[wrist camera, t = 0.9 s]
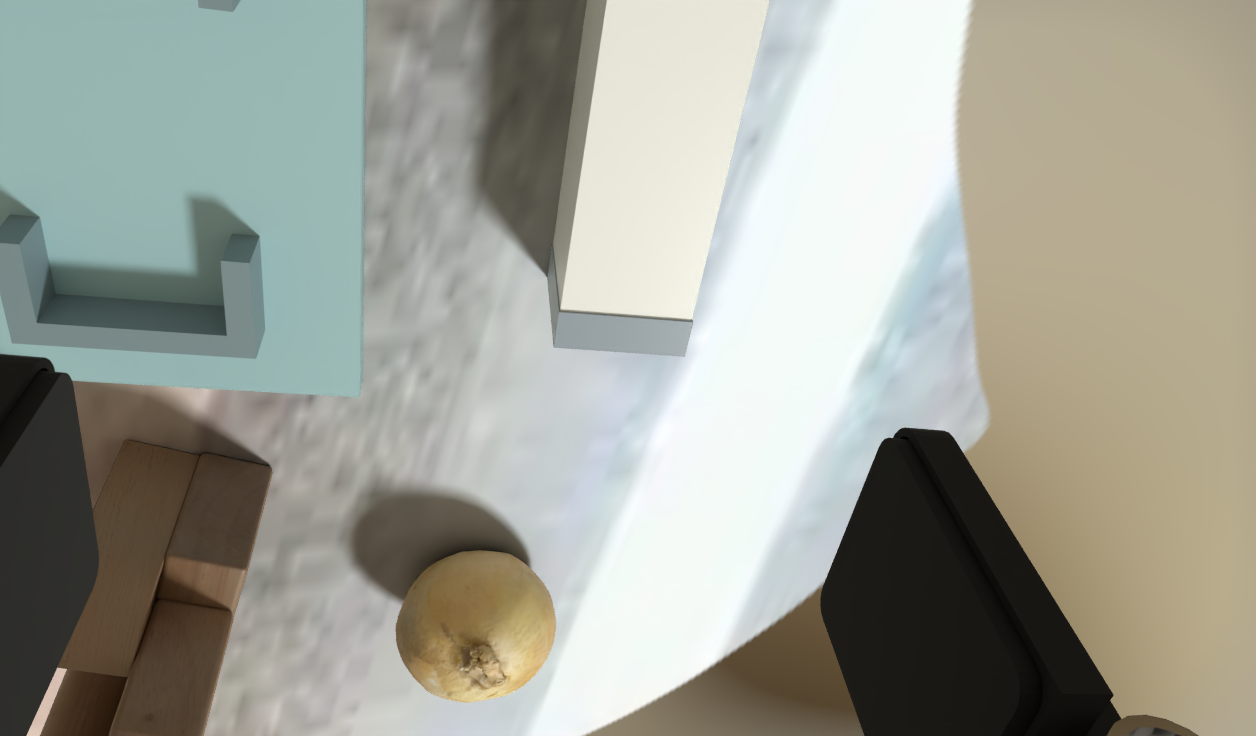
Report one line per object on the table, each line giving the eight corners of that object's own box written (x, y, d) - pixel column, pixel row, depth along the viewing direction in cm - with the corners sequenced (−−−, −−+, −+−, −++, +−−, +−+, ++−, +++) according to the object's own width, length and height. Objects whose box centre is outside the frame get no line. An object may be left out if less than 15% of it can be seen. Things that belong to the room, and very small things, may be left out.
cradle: (-249, -371, 26) (-327, -371, 24) (369, -259, 29) (358, -248, 27) (-43, 355, 40) (-78, 404, 38) (362, 380, 43) (354, 427, 41)
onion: (578, 596, 53) (589, 710, 48) (451, 648, 55) (447, 764, 49) (506, 506, 49) (509, 621, 43) (369, 565, 50) (355, 683, 45)
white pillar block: (596, -79, 33) (611, -38, 29) (741, -57, 34) (775, -14, 30) (547, 276, 41) (553, 347, 37) (665, 286, 42) (684, 356, 38)
